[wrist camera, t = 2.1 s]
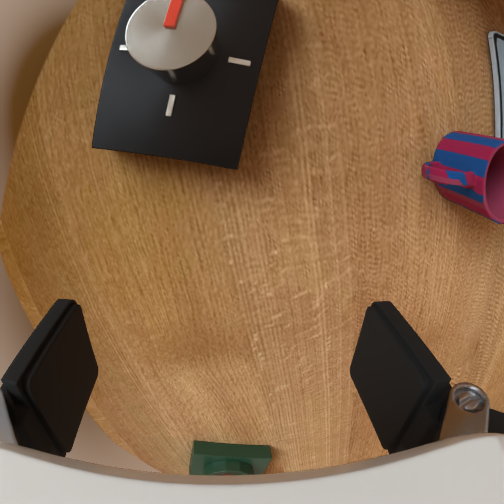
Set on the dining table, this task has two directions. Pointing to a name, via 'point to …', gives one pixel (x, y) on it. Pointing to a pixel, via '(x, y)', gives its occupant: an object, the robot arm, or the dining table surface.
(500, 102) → the smartphone
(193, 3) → the hob knob
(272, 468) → the dining table surface
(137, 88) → the panel
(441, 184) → the mug
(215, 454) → the block
